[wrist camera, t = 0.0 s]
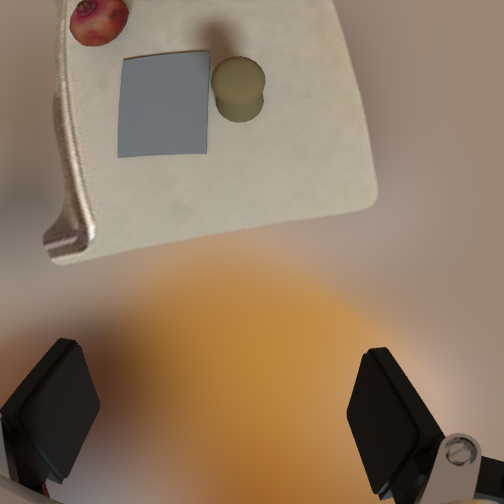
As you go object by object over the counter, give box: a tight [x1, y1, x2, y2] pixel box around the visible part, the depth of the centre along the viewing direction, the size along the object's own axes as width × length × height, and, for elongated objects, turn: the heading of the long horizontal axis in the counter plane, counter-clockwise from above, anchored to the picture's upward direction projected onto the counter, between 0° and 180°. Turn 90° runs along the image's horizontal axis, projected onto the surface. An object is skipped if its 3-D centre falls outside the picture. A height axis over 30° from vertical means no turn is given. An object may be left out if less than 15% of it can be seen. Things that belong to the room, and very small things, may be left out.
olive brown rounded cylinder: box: [211, 56, 265, 122], centre depth 29 cm, size 6×6×11 cm
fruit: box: [70, 0, 129, 46], centre depth 25 cm, size 8×8×10 cm
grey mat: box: [118, 51, 210, 158], centre depth 34 cm, size 14×12×1 cm
